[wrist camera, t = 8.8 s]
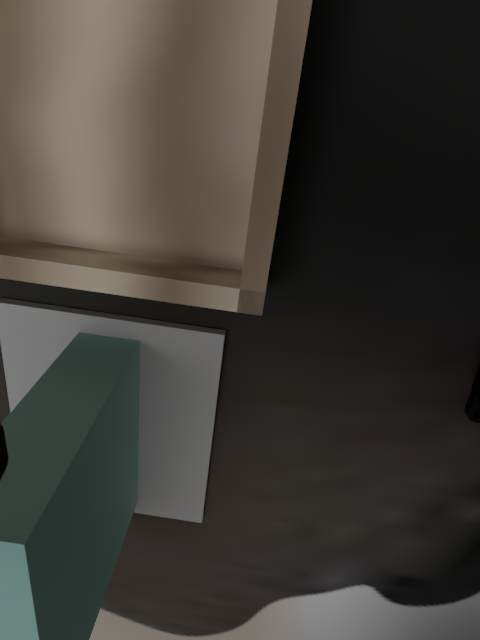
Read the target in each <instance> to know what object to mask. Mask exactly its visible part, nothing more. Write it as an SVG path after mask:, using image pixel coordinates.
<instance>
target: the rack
mask: <svg viewBox="0 0 480 640" xmlns="http://www.w3.org/2000/svg"><path fill="white" fill-rule="evenodd" d="M311 6H312V0H0V278H3V279H10V280H17V281H24V282H31V283H38V284H45V285H52V286H59V287H66V288H73V289H79V290H86V291H93V292H100V293H107V294H114V295H121V296H128V297H135V298H142V299H149V300H156V301H163V302H170V303H177V304H183V305H190V306H197V307H204V308H211V309H218V310H225V311H232V312H239V313H246V314H253V315H260V316H262V312H263V305H264V299H265V293H266V287H267V280H268V274H269V268H270V262H271V255H272V249H273V243H274V237H275V231H276V224H277V218H278V212H279V206H280V199H281V193H282V187H283V181H284V175H285V168H286V162H287V156H288V150H289V143H290V137H291V131H292V125H293V118H294V112H295V106H296V100H297V94H298V87H299V81H300V75H301V69H302V62H303V56H304V50H305V44H306V38H307V31H308V25H309V19H310V13H311Z"/></svg>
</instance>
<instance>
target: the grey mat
mask: <svg viewBox="0 0 480 640" xmlns="http://www.w3.org/2000/svg"><path fill="white" fill-rule="evenodd" d="M225 331H226V330H220V329H213V328H207V327H200V326H193V325H186V324H179V323H172V322H165V321H158V320H151V319H144V318H138V317H131V316H124V315H117V314H110V313H103V312H96V311H89V310H82V309H75V308H69V307H62V306H55V305H48V304H41V303H34V302H27V301H20V300H13V299H6V298H0V341H1V349H2V356H3V363H4V370H5V377H6V384H7V391H8V399H9V406H10V413H11V412H12V410H13V409H14V408H15V407H16V406H17V405H18V403H19V402H20V401H21V400H22V399H23V397H24V396H25V395H26V394H27V393H28V392H29V390H30V389H31V388H32V387H33V386H34V385H35V383H36V382H37V381H38V380H39V379H40V377H41V376H42V375H43V374H44V373H45V372H46V370H47V369H48V368H49V367H50V366H51V364H52V363H53V362H54V361H55V360H56V359H57V357H58V356H59V355H60V354H61V353H62V352H63V350H64V349H65V348H66V347H67V346H68V344H69V343H70V342H71V341H72V340H73V339H74V337H75V336H76V335H77V334H78V333H79V332H81V333H88V334H95V335H103V336H110V337H117V338H124V339H131V340H138V341H140V385H139V444H138V501H137V504H136V507H135V510H134V513H139V514H146V515H152V516H159V517H166V518H172V519H179V520H185V521H192V522H199V523H202V519H203V512H204V504H205V496H206V488H207V480H208V471H209V463H210V455H211V447H212V438H213V430H214V422H215V414H216V405H217V397H218V389H219V381H220V373H221V364H222V356H223V348H224V340H225Z"/></svg>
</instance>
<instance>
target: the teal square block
mask: <svg viewBox="0 0 480 640" xmlns="http://www.w3.org/2000/svg"><path fill="white" fill-rule="evenodd" d="M139 385H140V341H138V340H131V339H124V338H117V337H110V336H103V335H95V334H88V333H81V332H79V333H78V334H77V335H76V336H75V337H74V339H73V340H72V341H71V342H70V343H69V344H68V346H67V347H66V348H65V349H64V350H63V352H62V353H61V354H60V355H59V356H58V357H57V359H56V360H55V361H54V362H53V363H52V364H51V366H50V367H49V368H48V369H47V370H46V372H45V373H44V374H43V375H42V376H41V377H40V379H39V380H38V381H37V382H36V383H35V385H34V386H33V387H32V388H31V389H30V390H29V392H28V393H27V394H26V395H25V396H24V397H23V399H22V400H21V401H20V402H19V403H18V405H17V406H16V407H15V408H14V409H13V410H12V412H11V413H10V414H9V415H8V416H7V418H6V419H5V420H4V421H3V422H2V423H1V424H2V426H3V428H4V432H5V438H6V444H7V450H8V457H9V458H8V465H7V468H6V470H5V472H4V474H3V477H2V479H1V481H0V640H89V638H90V635H91V633H92V630H93V627H94V624H95V621H96V618H97V616H98V613H99V610H100V607H101V604H102V601H103V598H104V596H105V593H106V590H107V587H108V584H109V581H110V578H111V576H112V573H113V570H114V567H115V564H116V561H117V558H118V556H119V553H120V550H121V547H122V544H123V541H124V538H125V536H126V533H127V530H128V527H129V524H130V521H131V518H132V516H133V513H134V510H135V507H136V504H137V501H138V444H139Z"/></svg>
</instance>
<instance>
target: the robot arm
mask: <svg viewBox="0 0 480 640" xmlns="http://www.w3.org/2000/svg"><path fill="white" fill-rule="evenodd" d="M472 389H473V391H472V393H471V396H470V398H469V400H468V403H467V405H466V407H465V413H466V415H467V416H468V418H469V419H470V420H471V421H473V422H478V423H480V411H479V412H477V413H474V412H475V411H476V410H480V369H479V372H478V374H477V376H476V378H475V381H474V383H473V385H472ZM8 458H9V457H8V450H7V444H6V438H5V432H4V428H3V426H2V424H1V423H0V481H1V479H2V477H3V474H4V472H5V470H6V468H7V465H8Z"/></svg>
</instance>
